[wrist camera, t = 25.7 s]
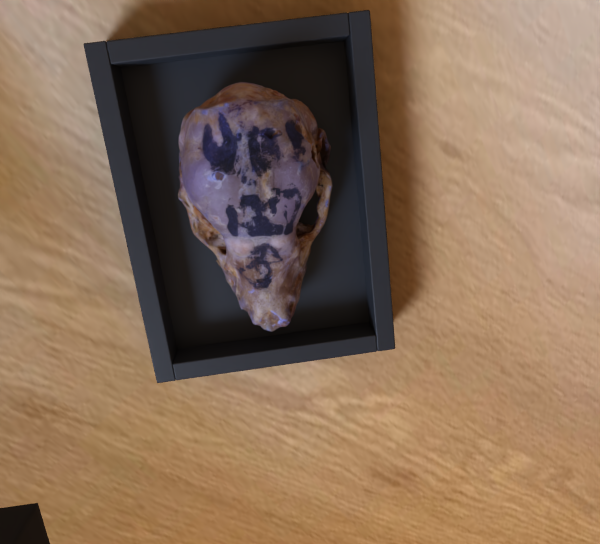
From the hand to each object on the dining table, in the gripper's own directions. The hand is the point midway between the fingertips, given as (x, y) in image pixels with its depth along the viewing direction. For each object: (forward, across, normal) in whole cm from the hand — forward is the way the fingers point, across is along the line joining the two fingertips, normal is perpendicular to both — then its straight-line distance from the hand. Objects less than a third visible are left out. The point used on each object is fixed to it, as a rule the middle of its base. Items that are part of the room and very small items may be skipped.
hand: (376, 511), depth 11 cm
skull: (+20, -2, +3) cm, 20 cm away
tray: (+20, -2, +4) cm, 21 cm away
